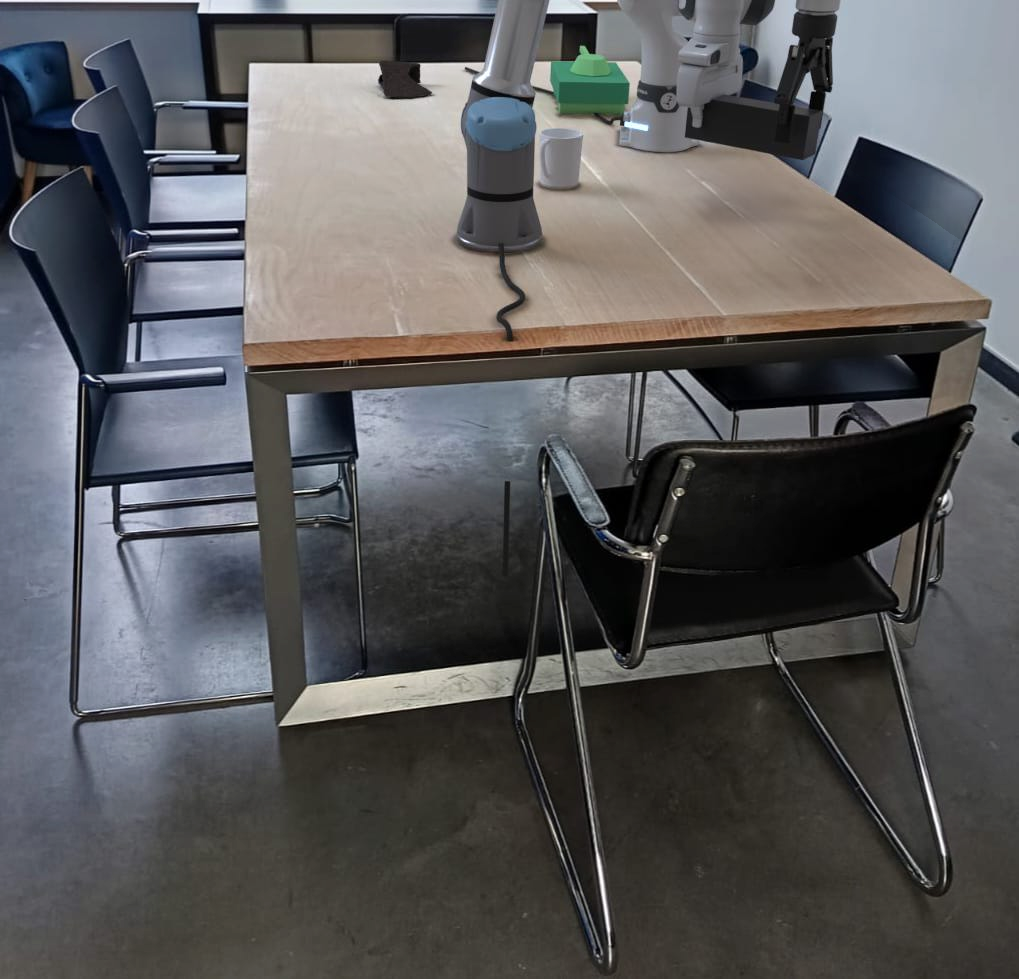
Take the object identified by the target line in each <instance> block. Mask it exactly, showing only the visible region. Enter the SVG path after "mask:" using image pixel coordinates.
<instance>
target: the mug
mask: <svg viewBox="0 0 1019 979" xmlns="http://www.w3.org/2000/svg"><path fill="white" fill-rule="evenodd" d="M583 140H584V132H583V131H582V130H579V129H575V128H569V127H550V128H549V127H548V128H544V129H541V130H540V131H539V132H538V144H539V145H538V146H539V147H538V148H539V151H538V155H539V157H538V158H539V159H538V160H539V184H540V186H542V187H543V188H546V189H551V190H571V189H573V188H576V187H578V186H579V181H580V172H581V170H580V169H581V161H582V152H583V151H582V150H583Z"/></svg>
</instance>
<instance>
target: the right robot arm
mask: <svg viewBox="0 0 1019 979" xmlns="http://www.w3.org/2000/svg"><path fill="white" fill-rule="evenodd" d="M616 1H617V4H618V7H619V8H620V9H621V11H622V12H623V13H624V14H625V15H626V16H627V17H629V19H630V20H631V21H632V22H633V24H634V26H635V28H636V30H637V32H638V36H639V39H640V45H641V62H640V63H641V64H640V79H639V80H638V83H637V87H636V99H635V101H634V102H633V104H632V106H631V108H630V110H626V111H624V113H623V114H622V115H619V116H613V117H611V118H610V119H607V118H605V117H604V116H603V115H600V114H598V113H594V114H593V116H595V117H596V118H598V119H599V120H600V121H602V122H603V123H605V124H606V125H607V124H608V125H613V124H614V122H615V121H616V122H617V121H619V126H620V128H619V140H618V145H619V146H622V147H627V148H628V147H629V148H633V149H637V150H641V151H647V152H657V153H673V152H681V151H685V150H688V149H690V148H693V147H697V146H700V140H695V139H690V138H685V129H686V120H687V110H688V107H689V108H691V112H692V116H693V123H692V125H693V127H697V128H699V127H702V126H703V125H704V119H705V117H703V114H702V110H703V109H704V104H706V103H709V102H710V101H711V99H713V98H716V97H719V96H722V95H730V96H732V95H734V94H737V93H739V92H740V90H741V87H742V82H743V71H744V70H743V69H744V60H743V56H742V54H741V48H740V40H741V33H742V32H741V30H742V29H741V25H745V26H746V25H747V26H757V25H759V24H760V23H761V22H763V21H764V20H765V19H766V18H768V17H769V15H770V14H771V13H772V12H773V9H774V7H775V4H776V0H616ZM673 17H683V18H685V20H686V21H690V22H693V23H695V24H694V26H693V30H692V37H691V38H690V39H689V41H688V40H687V39H686V38H685V37H684V36H683V35H681V34H679V33H677V32H676V31H674V28H673ZM464 70H465V71H467V72H470V73H472V74H475V75H476V74H478V73H479V72H480V71H478V70H476V69H472V68H471V67H468V66H464ZM532 87H533V89H534V91H538V92H542V93H546V94H548V95H552V96H554V92H553V90H549V89H545V88H542V87H539V86H535V85H532Z"/></svg>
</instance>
